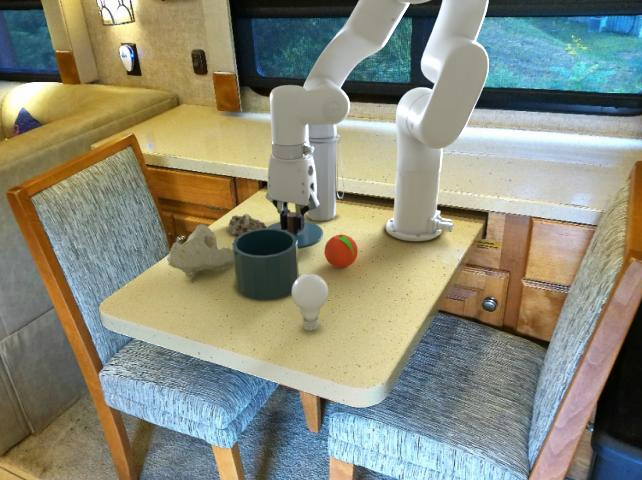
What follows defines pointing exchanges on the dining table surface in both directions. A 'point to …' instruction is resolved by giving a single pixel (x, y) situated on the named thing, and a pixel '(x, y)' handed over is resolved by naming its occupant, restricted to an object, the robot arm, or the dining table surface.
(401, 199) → the robot arm
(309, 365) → the dining table surface
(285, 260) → the jar
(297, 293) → the lightbulb
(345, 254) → the clementine
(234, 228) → the mineral rock
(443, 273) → the dining table surface
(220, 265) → the white coral rock
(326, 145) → the water bottle
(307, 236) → the jar lid
